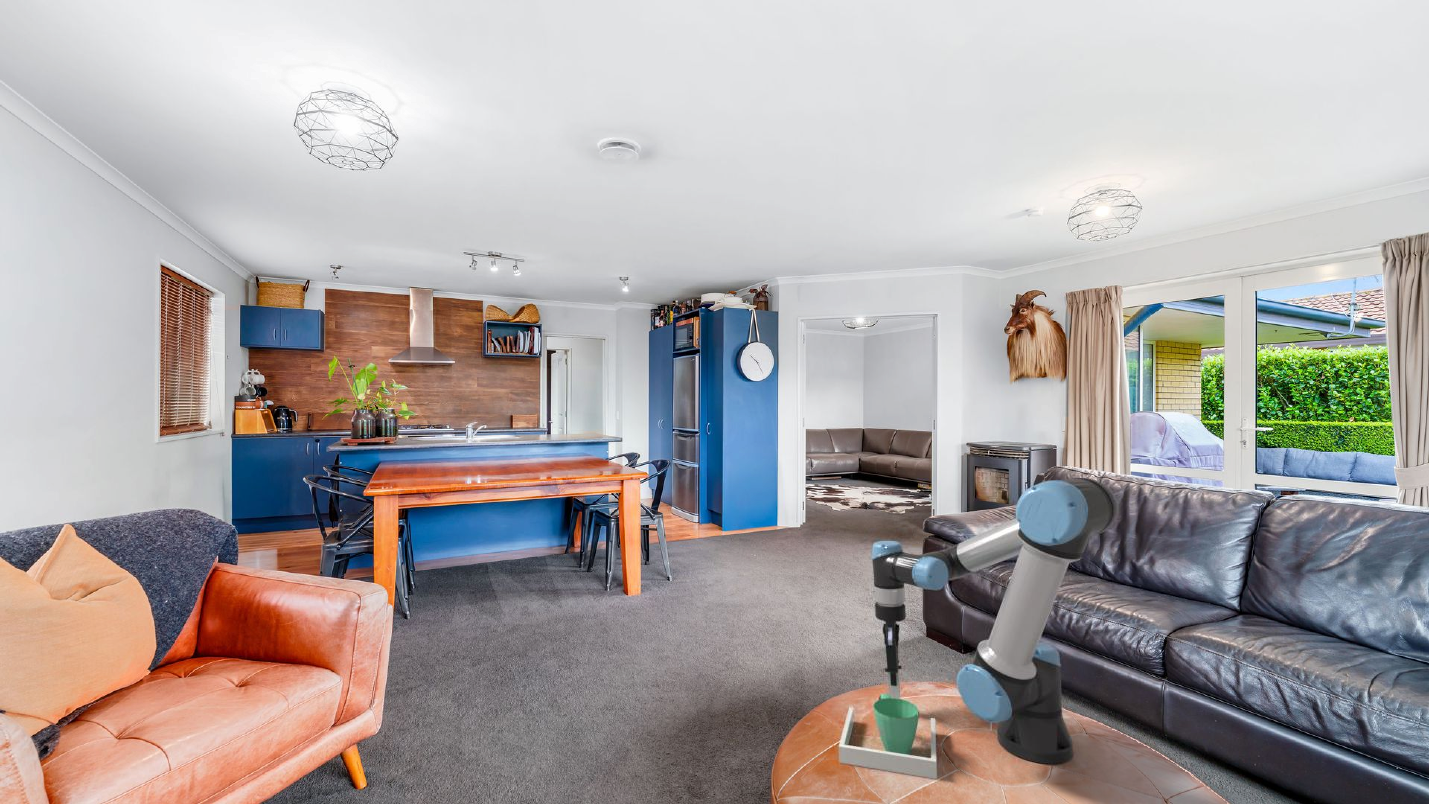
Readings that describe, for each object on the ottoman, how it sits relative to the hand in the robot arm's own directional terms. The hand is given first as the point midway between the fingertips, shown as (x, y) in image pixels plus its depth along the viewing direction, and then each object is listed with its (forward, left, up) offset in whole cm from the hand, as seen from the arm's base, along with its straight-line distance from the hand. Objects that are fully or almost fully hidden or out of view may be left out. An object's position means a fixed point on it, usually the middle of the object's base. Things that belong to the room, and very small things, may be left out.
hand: (894, 696), depth 151 cm
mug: (0, +17, -4) cm, 17 cm away
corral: (+1, +17, -4) cm, 17 cm away
